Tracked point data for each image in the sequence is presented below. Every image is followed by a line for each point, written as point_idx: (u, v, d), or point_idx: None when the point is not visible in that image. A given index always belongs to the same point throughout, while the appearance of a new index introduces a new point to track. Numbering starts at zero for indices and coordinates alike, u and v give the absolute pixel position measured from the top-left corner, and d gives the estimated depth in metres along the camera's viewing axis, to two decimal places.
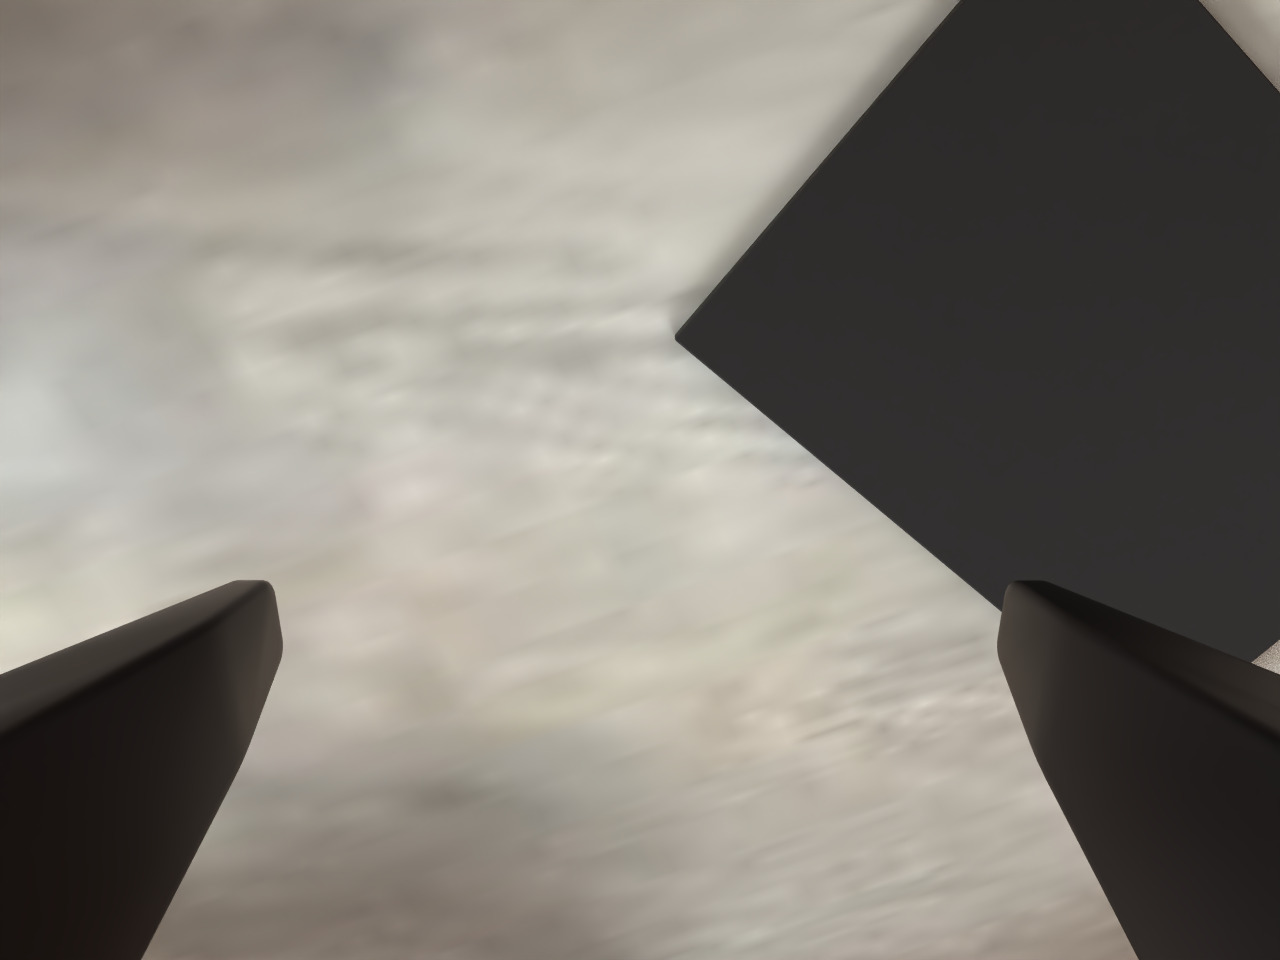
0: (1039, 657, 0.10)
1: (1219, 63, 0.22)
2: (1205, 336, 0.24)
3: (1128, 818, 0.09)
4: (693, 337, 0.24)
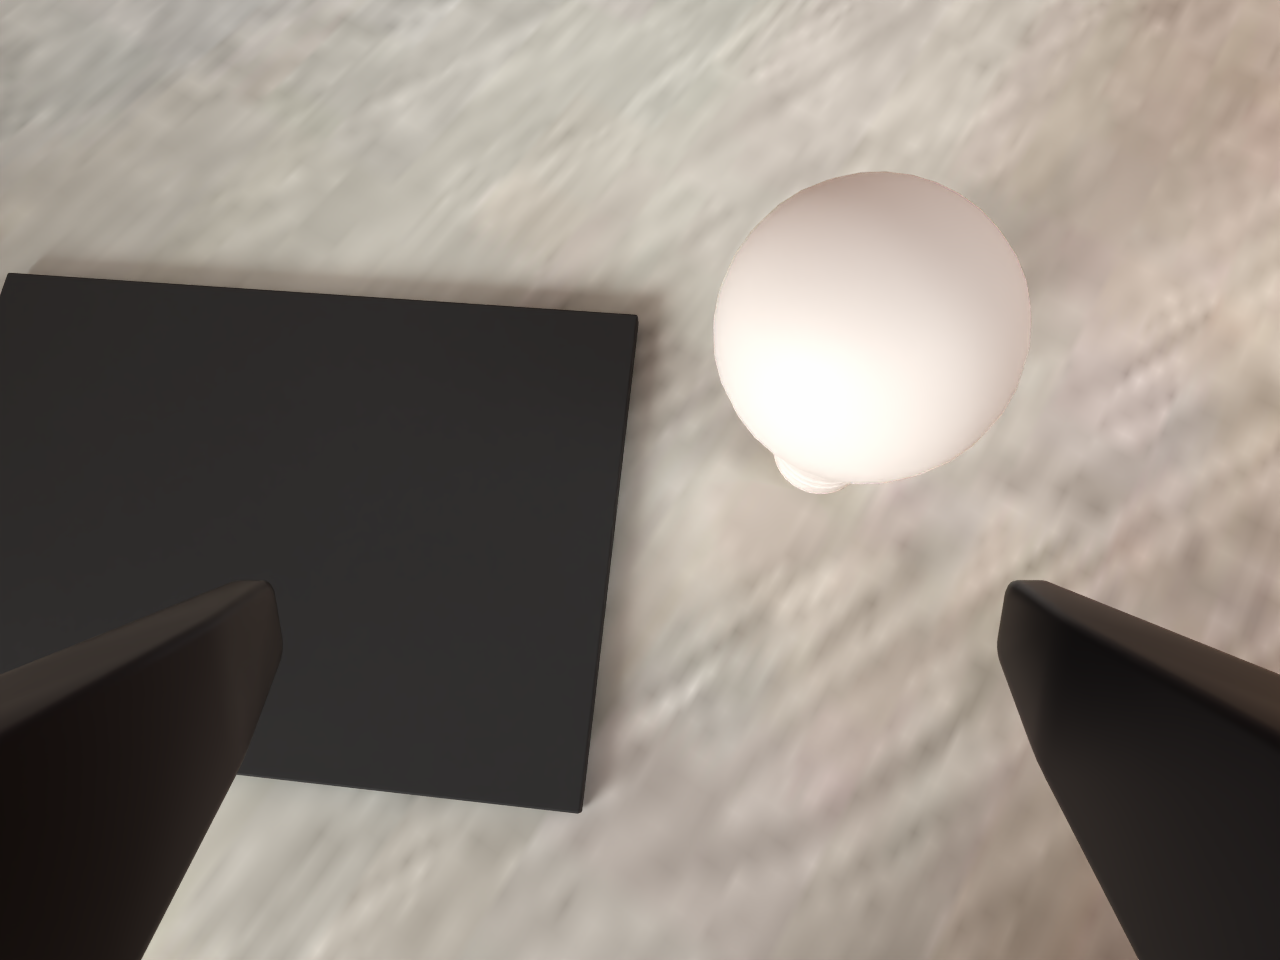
0: (1039, 657, 0.10)
1: (174, 299, 0.28)
2: (303, 445, 0.26)
3: (1128, 818, 0.09)
4: None
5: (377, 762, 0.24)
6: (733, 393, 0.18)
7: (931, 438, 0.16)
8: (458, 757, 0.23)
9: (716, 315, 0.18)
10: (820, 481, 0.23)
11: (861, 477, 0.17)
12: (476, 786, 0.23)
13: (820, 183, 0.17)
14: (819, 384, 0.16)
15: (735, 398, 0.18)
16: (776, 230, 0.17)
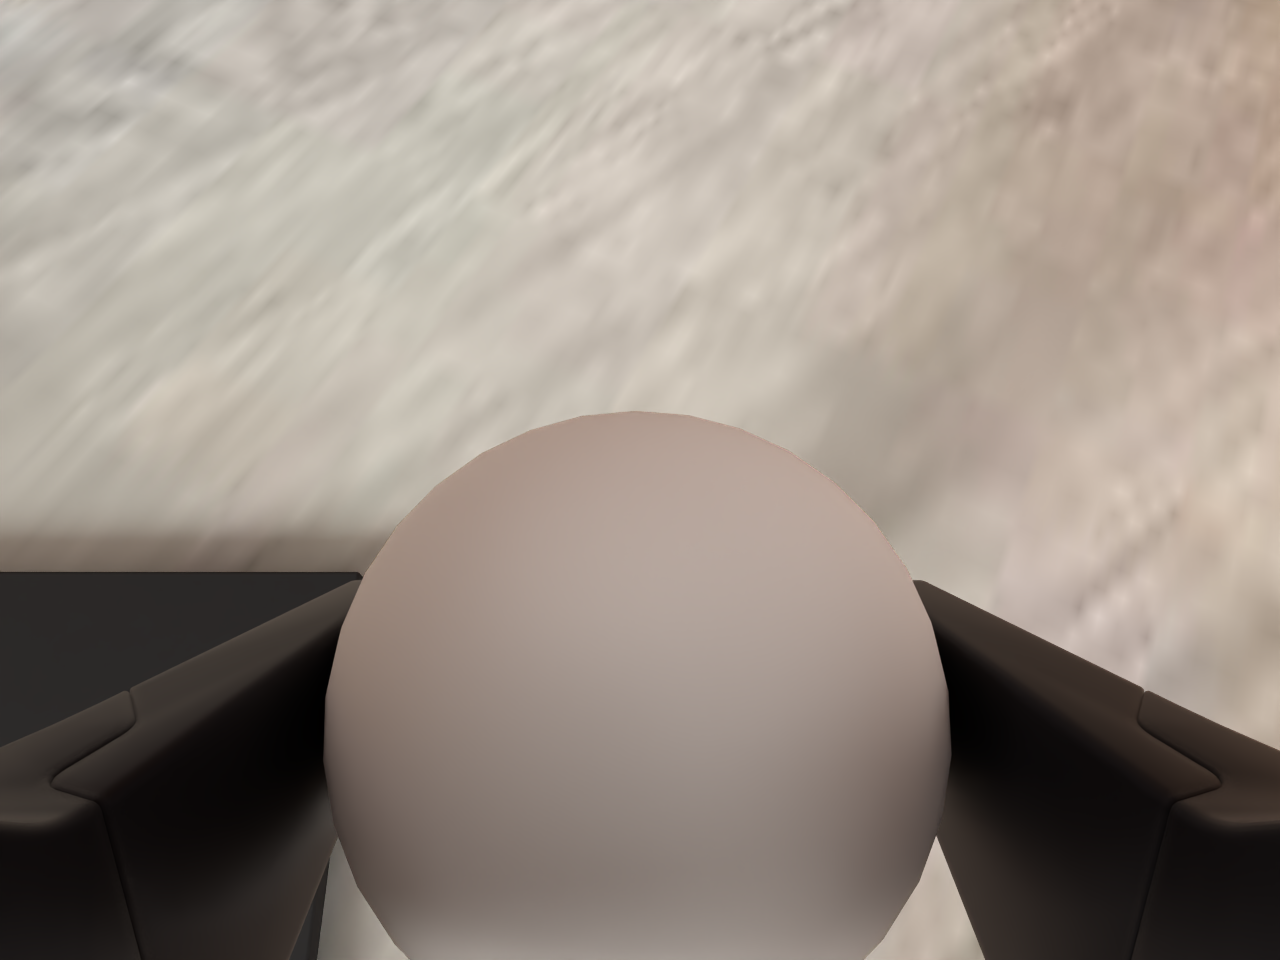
0: None
1: None
2: None
3: (975, 818, 0.09)
4: None
5: None
6: None
7: None
8: None
9: None
10: None
11: None
12: None
13: (508, 444, 0.09)
14: (488, 949, 0.07)
15: None
16: (399, 565, 0.08)
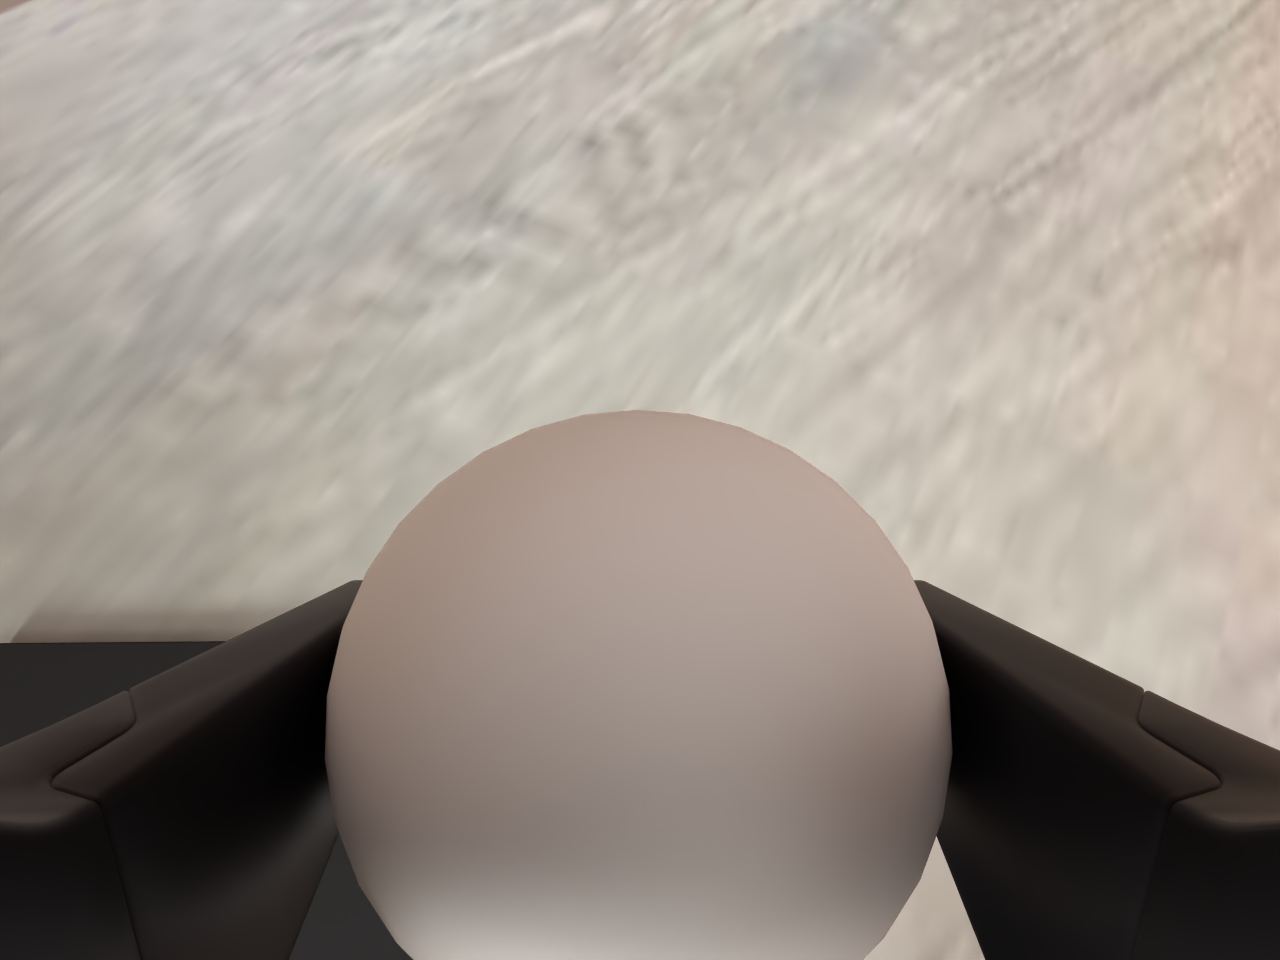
0: None
1: None
2: None
3: (975, 818, 0.09)
4: None
5: None
6: None
7: None
8: None
9: None
10: None
11: None
12: None
13: (509, 443, 0.09)
14: (490, 947, 0.07)
15: None
16: (400, 564, 0.08)
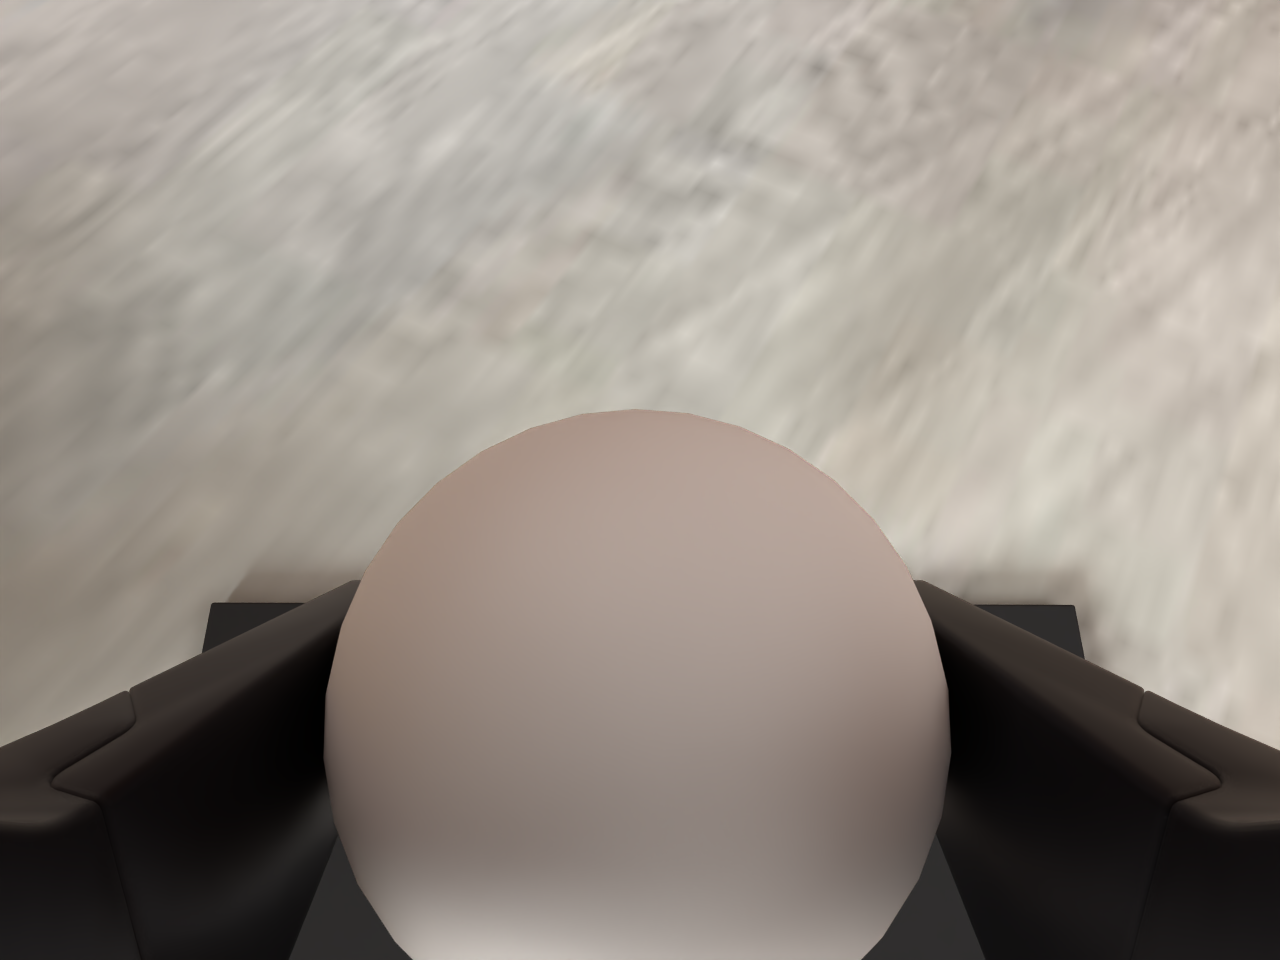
0: None
1: None
2: None
3: (976, 818, 0.09)
4: None
5: None
6: None
7: None
8: None
9: None
10: None
11: None
12: None
13: (508, 442, 0.09)
14: (489, 946, 0.07)
15: None
16: (400, 561, 0.08)
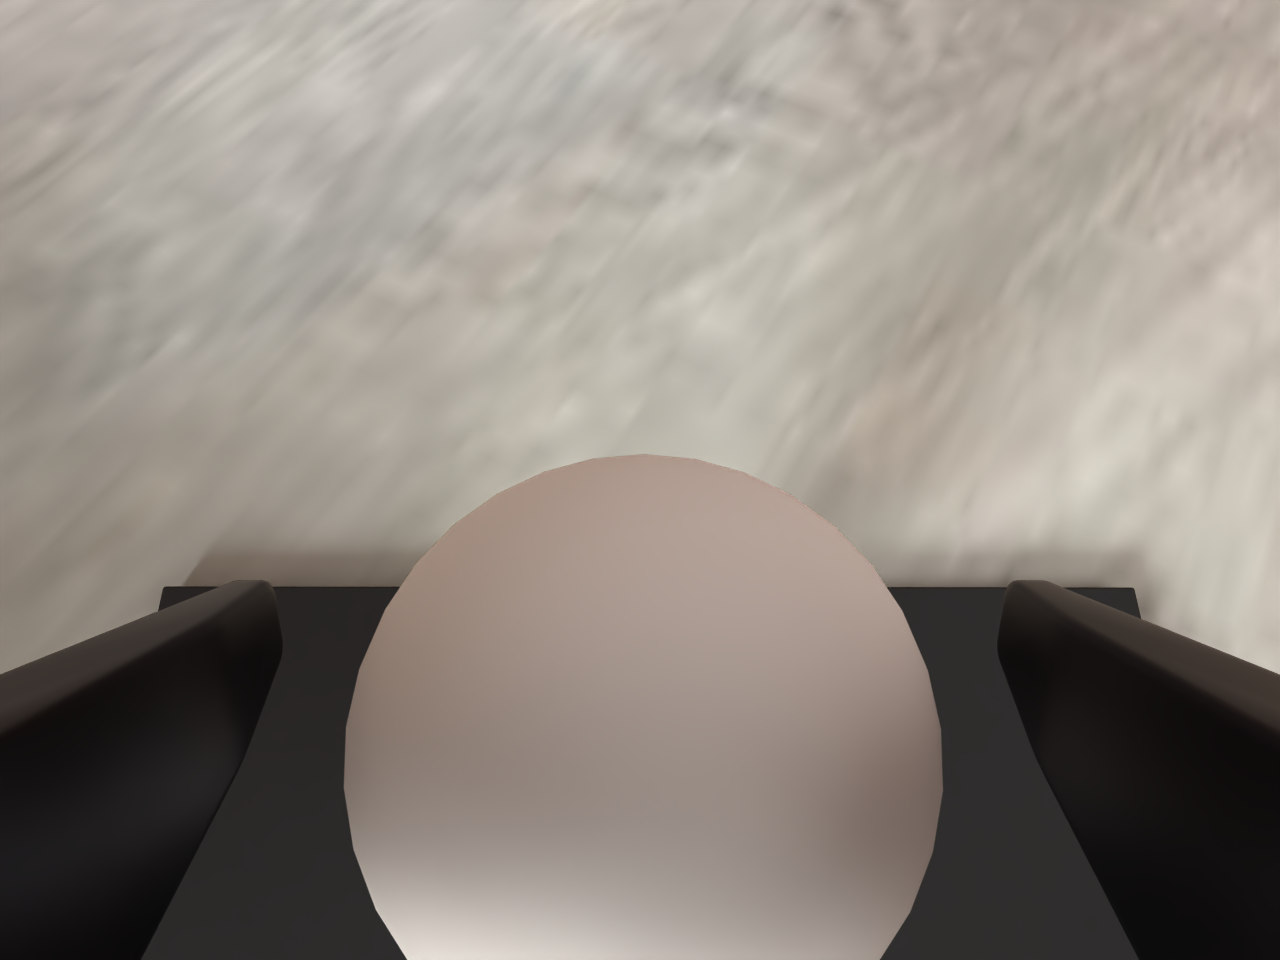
0: (1039, 657, 0.10)
1: None
2: None
3: (1128, 818, 0.09)
4: None
5: None
6: None
7: None
8: None
9: None
10: None
11: None
12: None
13: (523, 488, 0.09)
14: None
15: None
16: (421, 605, 0.08)
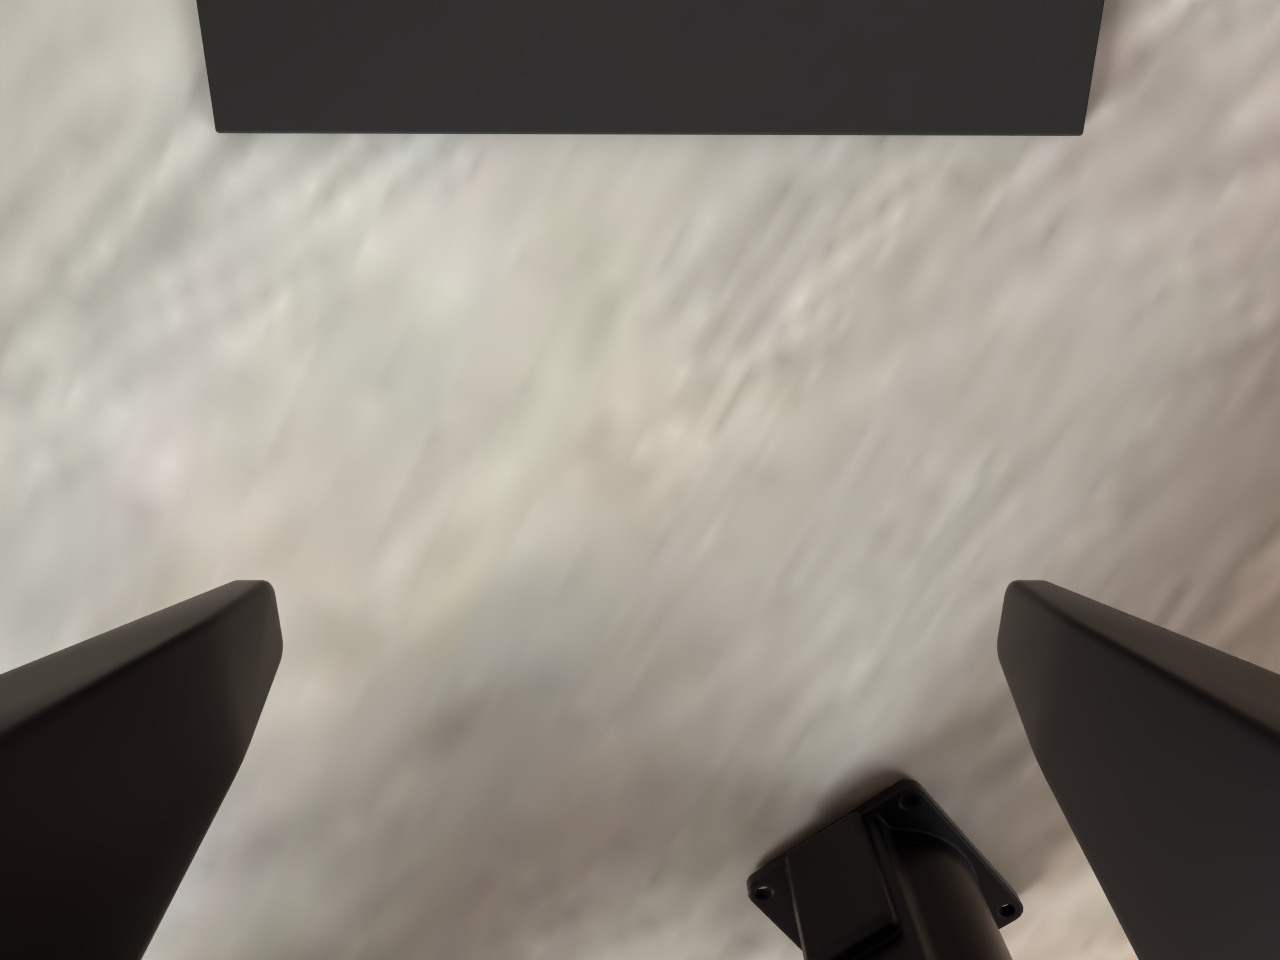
0: (1039, 657, 0.10)
1: None
2: None
3: (1128, 818, 0.09)
4: (227, 115, 0.21)
5: (852, 102, 0.21)
6: None
7: None
8: (945, 87, 0.21)
9: None
10: None
11: None
12: (967, 117, 0.21)
13: None
14: None
15: None
16: None
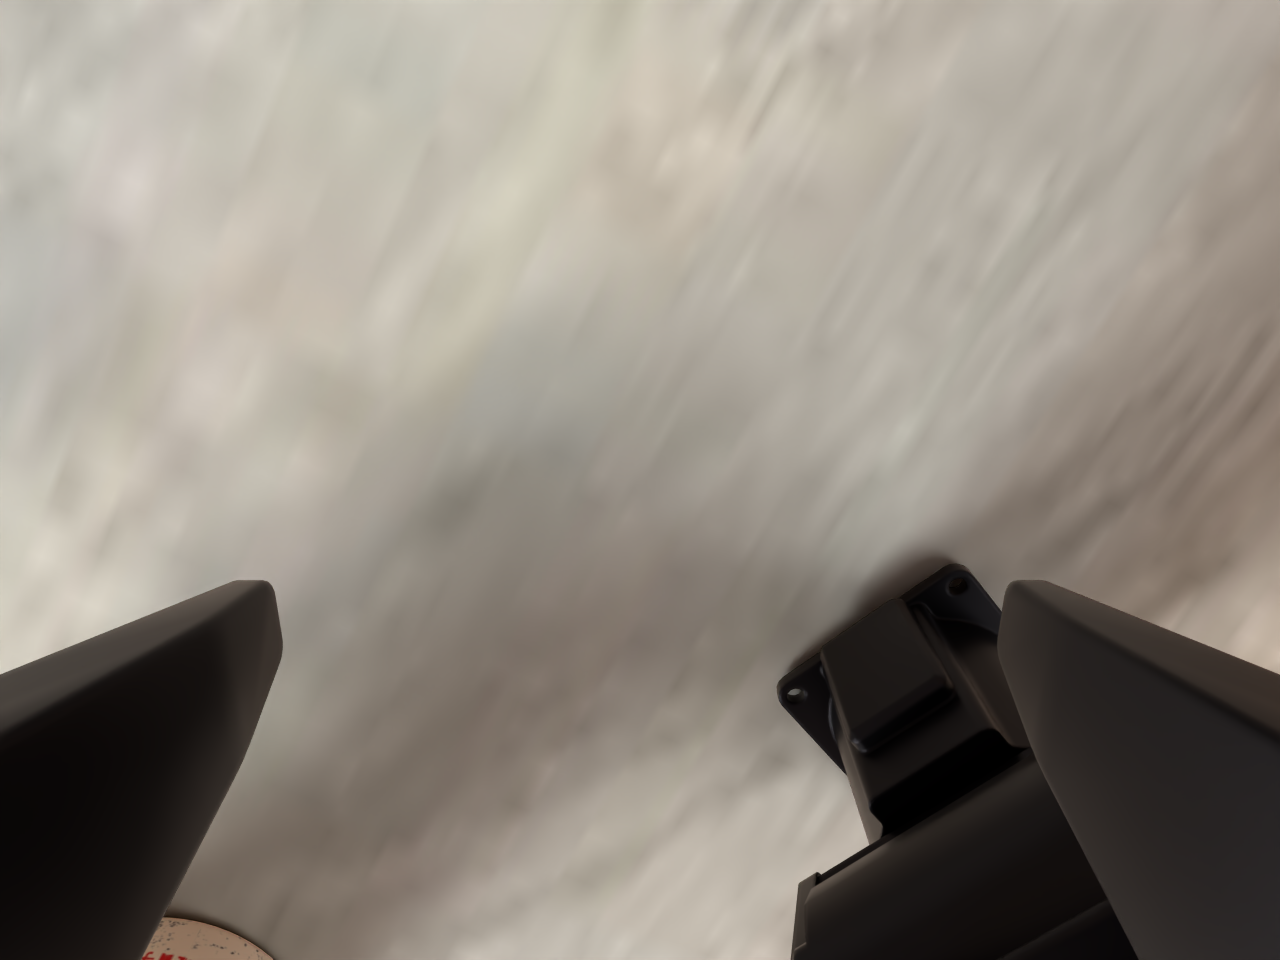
0: (1039, 657, 0.10)
1: None
2: None
3: (1128, 818, 0.09)
4: None
5: None
6: None
7: None
8: None
9: None
10: None
11: None
12: None
13: None
14: None
15: None
16: None
